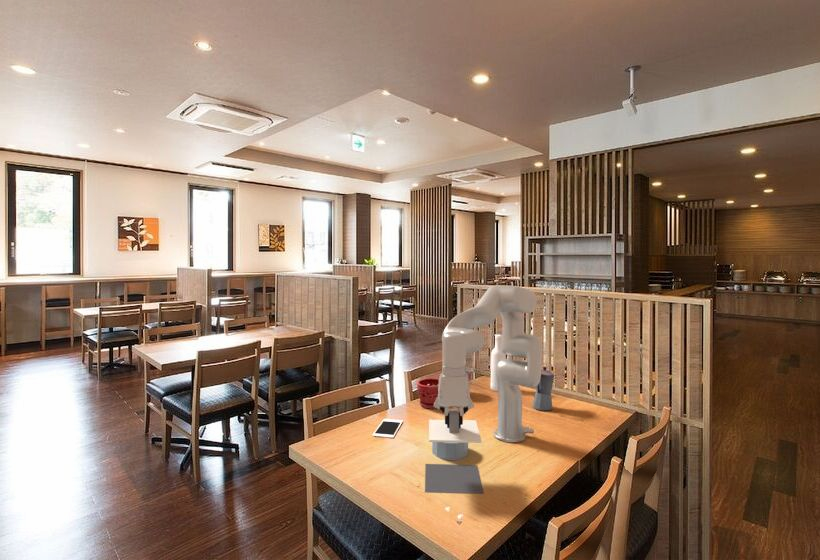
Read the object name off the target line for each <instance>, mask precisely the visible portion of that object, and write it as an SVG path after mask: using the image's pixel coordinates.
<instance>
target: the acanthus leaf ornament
mask: <svg viewBox="0 0 820 560" xmlns="http://www.w3.org/2000/svg"><path fill="white" fill-rule="evenodd" d="M444 510H446V511H447V512H449V511H450V506H448V507H445V509H444ZM462 517H464V514H463V513H462V514H458V515H457V519H458V520H457V521H456V523H457V524H458V525H459V526H460V525H461V523H463V522H462V521H459V520H462Z"/></svg>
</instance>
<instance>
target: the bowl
mask: <svg viewBox="0 0 820 560" xmlns="http://www.w3.org/2000/svg"><path fill="white" fill-rule="evenodd" d="M431 444H432V454H433V455H434V456H435V457H437V458H439V459H442V460H447V461H456V460H460V459H464V458H465V457H466V456H468V454H469V443H461V442H431Z"/></svg>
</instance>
